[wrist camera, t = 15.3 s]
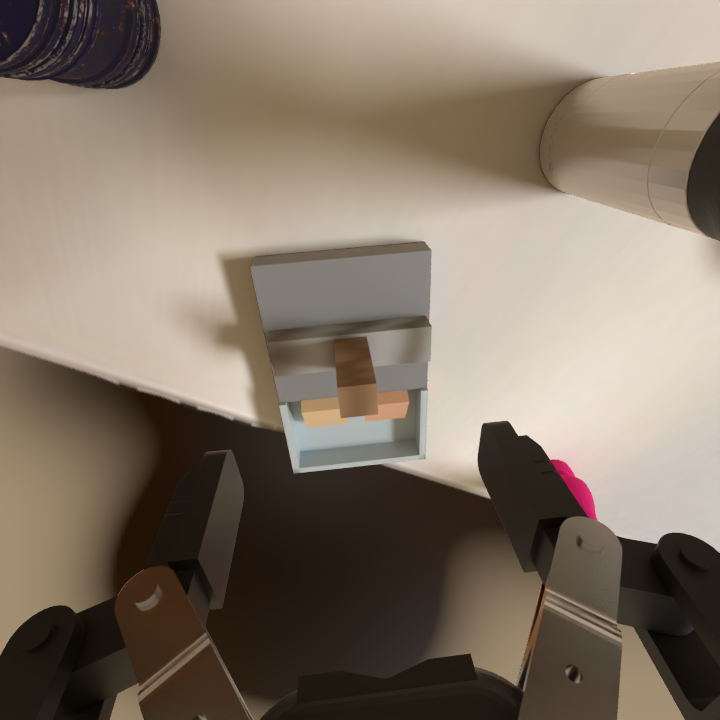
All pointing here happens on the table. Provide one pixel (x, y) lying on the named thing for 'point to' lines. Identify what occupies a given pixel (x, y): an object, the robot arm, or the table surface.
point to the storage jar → (79, 41)
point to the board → (343, 303)
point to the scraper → (351, 355)
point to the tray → (356, 438)
